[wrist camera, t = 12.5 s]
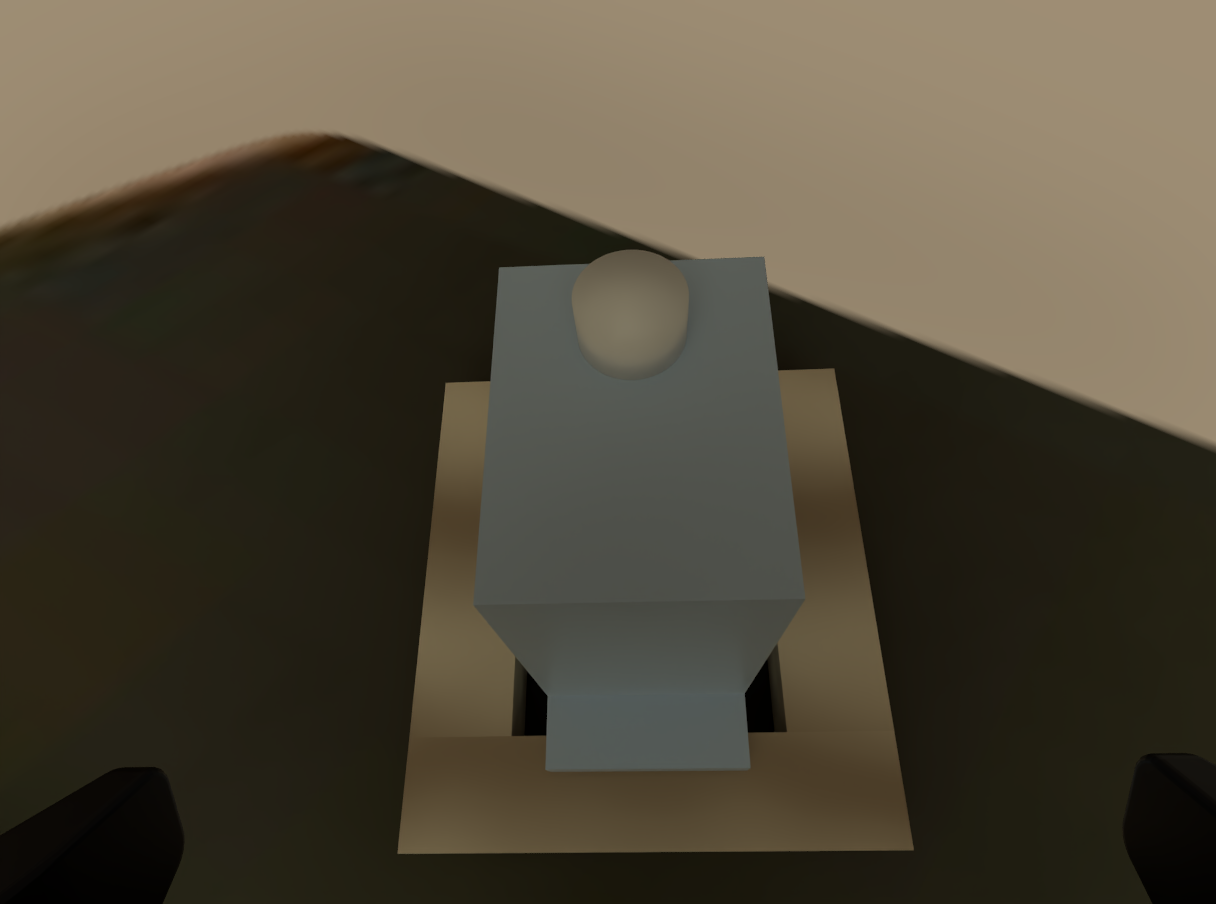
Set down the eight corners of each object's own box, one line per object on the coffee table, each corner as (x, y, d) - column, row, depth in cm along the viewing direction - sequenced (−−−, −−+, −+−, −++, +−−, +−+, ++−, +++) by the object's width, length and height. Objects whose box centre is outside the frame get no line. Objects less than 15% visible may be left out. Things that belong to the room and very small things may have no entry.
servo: (738, 776, 20) (836, 711, 9) (559, 777, 20) (444, 715, 9) (714, 454, 24) (762, 143, 13) (567, 459, 24) (493, 156, 13)
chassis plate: (888, 848, 19) (914, 850, 17) (421, 851, 19) (397, 854, 17) (821, 402, 24) (833, 368, 22) (461, 415, 25) (445, 382, 23)
